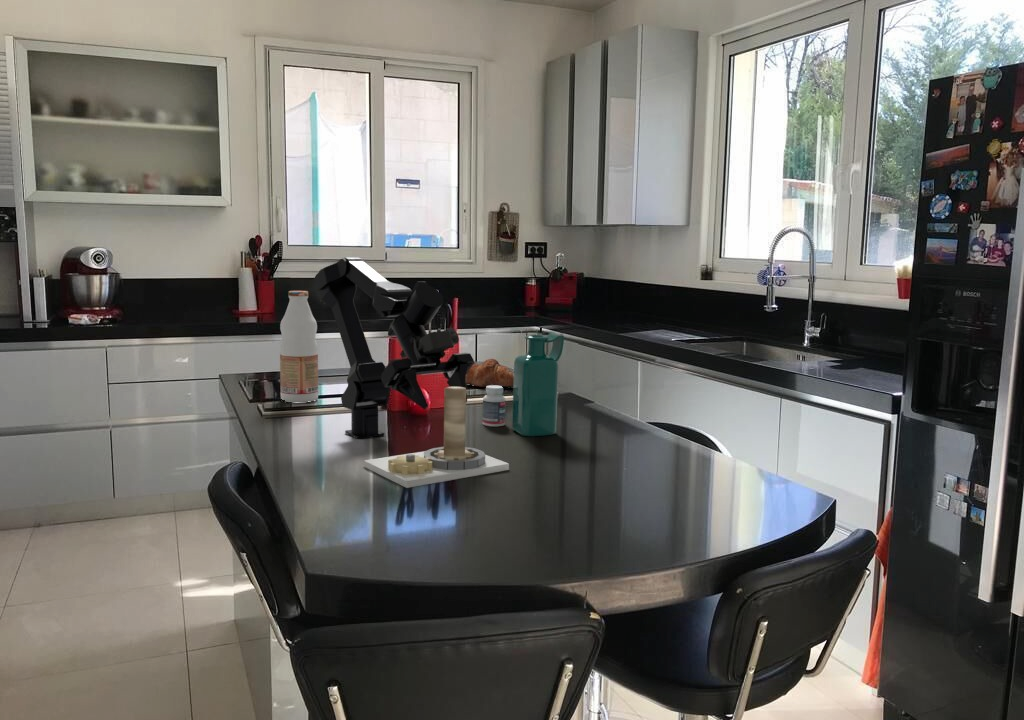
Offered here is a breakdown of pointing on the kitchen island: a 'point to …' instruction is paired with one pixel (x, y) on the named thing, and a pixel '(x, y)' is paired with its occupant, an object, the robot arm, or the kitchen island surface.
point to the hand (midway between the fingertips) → (446, 405)
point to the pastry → (489, 374)
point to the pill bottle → (494, 406)
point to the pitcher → (536, 387)
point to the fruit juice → (298, 351)
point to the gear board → (433, 467)
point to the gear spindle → (454, 425)
